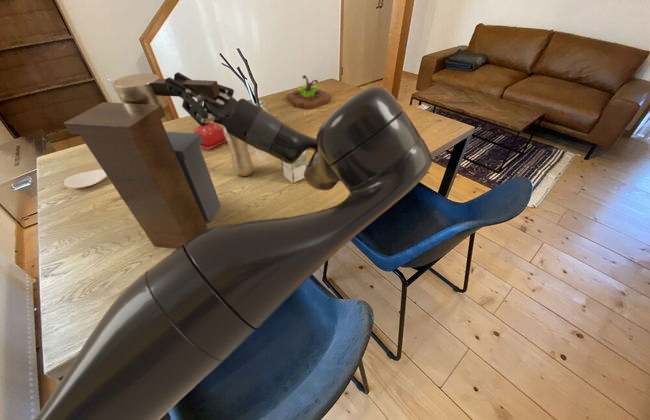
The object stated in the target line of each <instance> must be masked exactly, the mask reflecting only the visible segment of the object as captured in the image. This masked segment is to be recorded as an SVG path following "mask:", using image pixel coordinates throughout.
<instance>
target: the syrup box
mask: <svg viewBox="0 0 650 420" xmlns="http://www.w3.org/2000/svg"><path fill="white" fill-rule="evenodd" d="M280 161H281V160H280ZM307 165H308V163H307V150H306V151H304V152H303V153H302V154H301V156H300V157H299V158H298V159H297V161H296V162H295V163H293V164H287V163H285V162H283V161H281V169H282V176H283V177H284V178H285V179H287V180H288V181H289V182H290V183H292V184H295V183H297V182H300V181H301V180H305V178H304V171H305V169H306V167H307Z"/></svg>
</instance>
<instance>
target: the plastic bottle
mask: <svg viewBox="0 0 650 420" xmlns="http://www.w3.org/2000/svg"><path fill="white" fill-rule="evenodd" d="M222 129H223V133H224V136H225V138H226V141H225V142H227V143H226V144H227V145H228V147H229V148H228V149H229V151H230V155H231V160H232V161H231V162H232V169H233V171H234V173H235V174H236V175H238V176H240V177H247V176H249V175H251V174H252V173H253V172H254V169H255V167H254V165H255V164H254V162H253V160H252V157H251V155H250V151H249V147H248V144H247V143H245V142H243V141H241V140H240V139H238V138H236V137H234V136H232V135H230V134H228V133H227V132H226V128H225V127H224V126H223V127H222Z"/></svg>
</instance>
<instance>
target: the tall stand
mask: <svg viewBox="0 0 650 420" xmlns="http://www.w3.org/2000/svg"><path fill="white" fill-rule="evenodd" d="M164 117H166V113H165V110H164V108H162V105H147V104H128V103H122V102H110V101H109V102H108V101H107V102H106V101H103V102H101V103H99V104H97V105H95V106H93V107H91V108H89V109H87V110H85V111H83V112H82V113H80V114H78V115H76V116H74V117H72V118H70V119H69V120H66V121H64V122H63V124H64V125H65V127H66V129H67V131H68V132H69V133H70V134H71V135H79V136H80V137H81V140H83V142H84V144H85V145H86V146H87V148H88V150H89V151H90V152H91V154H92V155H93V157H94V158H95V160H96V162H97V163H98V164H99V166H100V167H101V169H103V170H104V172H105V173H106V175H107V179H109V181H110V182H111V185H113V187H114V188H115V190H116V192H117V193H118V195H119V196H120V198H121V199H122V201H123V202H124V204H125V205H126V207H127V209H128V210H129V211H130V213H131V214H132V216H133V217H134V218H135V220H136V221H137V223H138V225H139V227H141V229H142V231H143V232H144V233H145V235H146V236H147V238H148V240H149V241H150V242H151V244H152V246H153V247H158V248H166V249H173V250H176V249H177V248H179V247H180V246H181V245H184V243H185V242H187V241H188V240H189V239H191V238H192V237H193V236H195V235H196V234H198V233H200V232H202V231H204V230H206V229H208V226H207V223H206V222H205V221H204V219H203V216H202V214H201V212H200V209H199V207H198V205H197V202H196V200H195V198H194V195H193V193H192V191H191V188H190V186H189V184H188V182H187V179H186V177H185V175H184V172H183V170H182V168H181V165H180V163H179V161H178V158H177V156H176V154H175V151H174V149H173V147H172V144H171V142H170V140H169V137H168V135H167V133H166V132H167V131H166V128H165V126H164V124H163V121H162V119H164Z"/></svg>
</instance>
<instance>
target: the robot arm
mask: <svg viewBox="0 0 650 420" xmlns="http://www.w3.org/2000/svg"><path fill="white" fill-rule="evenodd" d="M165 79H166V80H165V88H166V89H167V90H168V91H170V92H172V93H173V94H175V95H177V96H176V97H178V96H179V98H180V99H182V105H181V107H182V109H184V111H186V113H187V114H188V115H189V116H190V117H191V118H192V119H193V120H194V121H195V122H196V123H197V124H198V126H200V125H201V126H206V123H207V122H212V123H216V124H218V125H220V126H223V128H224V127H225V128H226V132H227V133H228V134H230V135H232V136H234V137H236V138H238V139H240V140H241V141H243V142H245V143H247V145H248V146H251V147H253V148H254V149H257V150H259V151H261V152H264V153H266V154H268V155H270V156H272V157H274V158H275V159H277V160H279V161H283V162H285V163H287V164H293V163H295V162H296V161H297V159H298V158H299V157H300V156H301V154H302V153H303V152H304V151H306V152H307V151H313V154H312V155H311V157H310V159H309V161H308V163H307V167H306V169H305V171H304V180H305V182H306V183H307V185H308V186H310V188H313V189H315V190H318V191H330V190H332V189H333V188H334V187H335V186H336V185H337V184H338V183H339V182H341V183H342V184H343V185H344V187H345V188H346V189H347V191H348V192H349V194H348V196H347V197H346V198H345V199H344V200H342V201H341V202H339V203H337V204H335V205H334V206H331V207H328V208H325V209H322V210H318V211H313V212H309V213H304V214H303V213H302V214H299V215H294V216H293V215H292V216H285V217H276V218H264V219H253V220H244V221H238V222H230V223H225V224H219V225H215V226H212V227H209V228H206V229H205V230H204V231H202V232H200V233H198V234H196V235H195V236H193V237H192V238H191V239H189V240H188V241H187V242H185V243H184V245H181V246H180V247H179V248H177V249H174V250H173V251H171V252H170V253H169V254H168V255H166V256H165V257H164V258H162V259H161V260H160V261H158V262H157V263H156V264H155V265H153V266H152V267H150V268H148V270H145V272H144V273H142V274H141V275H140V276H138V277H137V278H136V279H135V280H134V281H133V282H132V283H131V284H129V286H127V288H125V289H124V291H122V293H120V295H118V297H117V298H116V299H115V300H114V302H113V303H112V304H111V305H110V306H109V308H108V309H107V310H106V312H105V313H104V314H103V316H102V317H101V319H100V320H99V322H98V323H97V325H96V326H95V328H94V329H93V330H92V332H91V334H90V335H89V336H88V338H87V339H86V341H85V343H84V344H83V345H82V347H81V349H80V350H79V352H78V353H77V355H76V357H75V358H74V360H73V361H72V363H71V364H70V365H69V367H68V369H67V370H66V371H65V373H64V375H63V377H62V378H61V380H60V381H59V383H58V384H57V385H56V387H55V389H54V390H53V392H52V393H51V394H50V396H49V398H48V399H47V401H46V402H45V404H44V405H43V406H42V408H41V409H40V411H39V412H38V413H37V415H36V416H35V418H33V420H161V419H162V418H163V417H164V416H165V415H166V414H167V413H168V412H169V411H170V410H172V408H174V407H175V406H176V405H177V404H178V403H179V402H180V401H181V400H182V399H183V398H185V396H186V395H187V394H188V393H190V392H191V391H193V389H194V388H195V387H196V386H198V384H200V383H201V382H202V381H203V380H204V379H206V377H208V376H209V375H210V374H211V373H212V372H213V371H214V370H216V368H218V367H220V366H221V364H222V363H224V361H226V360H227V359H228V358H229V357H230V356H231V355H232V354H233V353H234V352H235V351H236V350H237V349H238V348H240V346H241V345H242V344H244V343H245V341H247V340H248V339H249V338H250V337H251V336H252V335H253V334H254V333H255V332H256V331H257V329H259V328H260V327H262V325H263V324H265V322H266V321H267V320H268V319H269V318H270V317H271V316H272V315H274V313H275V312H276V311H277V310H278V309H279V308H280V307H281V306H282V305H283V304H284V303H285V302H286V301H287V300H288V299H289V298H290V297H291V296H292V295H293V294H294V293H295V292H296V291H297V290H298V289H300V288H301V286H302V285H303V284H304V283H305V282H306V281H308V280H309V278H311V276H312V275H314V274H315V273H316V271H318V270H319V269H320V268H321V267H322V266H323V265H324V264H325V263H326V262H327V261H328V260H330V259H331V258H332V257H333V256H334V255H336V253H337V252H338V251H340V250H341V249H342V248H343V247H344V246H345V245H347V244H348V243H349V242H351V240H352V239H354V238H355V237H356V236H357V235H358V234H360V233H361V232H363V231H364V230H365V229H366V228H368V226H370V225H371V224H372V223H374V222H375V221H376V220H377V219H379V217H381V216H382V215H383V214H384V213H386V212H387V211H389V210H390V208H392V207H393V206H394V205H396V204H397V203H398V202H399V201H401V200H402V198H404V197H405V196H406V195H408V193H410V192H411V191H412V190H413V189H414V188H415V187H416V186H417V185H418V184H419V183H420V182H421V180H423V179H424V178H425V176H426V175H427V173H428V172H429V170H430V168H431V166H432V162H433V159H432V154H431V151H430V150H429V147H428V145H427V144H426V142H425V140H424V139H423V137H422V136H421V133H420V132H419V131H418V129H417V128H416V126H415V125H414V123H413V122H412V120H411V119H410V117H409V116H408V115H407V113H406V111H405V110H404V108H403V107H402V106H401V104H400V103H399V101H398V100H397V99H396V97H395V96H394V95H393V94H392V93H391V92H390V91H389V89H387V88H385V87H383V86H377V85H376V86H375V85H374V86H370V87H367V88H365V89H363V90H361V91H359V92H356V93H355V94H354V95H352V96H351V97H350V98H348V99H346V100H345V101H343V103H342V104H340V105H339V106H338V107H337V108H336V109H335V110H333V112H331V113H330V114H329V116H327V117H326V119H325V120H324V121H323V122H322V124H321V125H320V127H319V129H318V131H317V134H316V137H313V136H310V135H307V134H304V133H302V132H300V131H298V130H297V129H295V128H293V127H291V126H289V125H287V124H286V123H284V122H283V121H281V120H279V119H278V118H277V117H275V116H274V115H273V114H271V113H269V112H267V111H266V110H264V109H263V108H260V107H259V106H258V105H255V104H254V103H252V102H250V101H249V100H247V99H246V98H240V99H238V100H237V99H236V98H234V92H235V90H234V89H233V88H231V87H227V86H225V85H221V84H219V83H218V87H219V91H220V94H219V95H218V96H217V97H216V98H211V97H209V96H208V95H206V94H204V93H197V92H195V91H193V90H191V89H188V87H186V86H184V85H182V84H181V83H179V82H177V81H176V80H174V79H179V80H192V78H190V77H188V76H186V75H184V74H183V73H181V72H175V73H174V75H173V78H172V77H166V78H165ZM192 96H193V97H192ZM195 99H196V100H195Z"/></svg>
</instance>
